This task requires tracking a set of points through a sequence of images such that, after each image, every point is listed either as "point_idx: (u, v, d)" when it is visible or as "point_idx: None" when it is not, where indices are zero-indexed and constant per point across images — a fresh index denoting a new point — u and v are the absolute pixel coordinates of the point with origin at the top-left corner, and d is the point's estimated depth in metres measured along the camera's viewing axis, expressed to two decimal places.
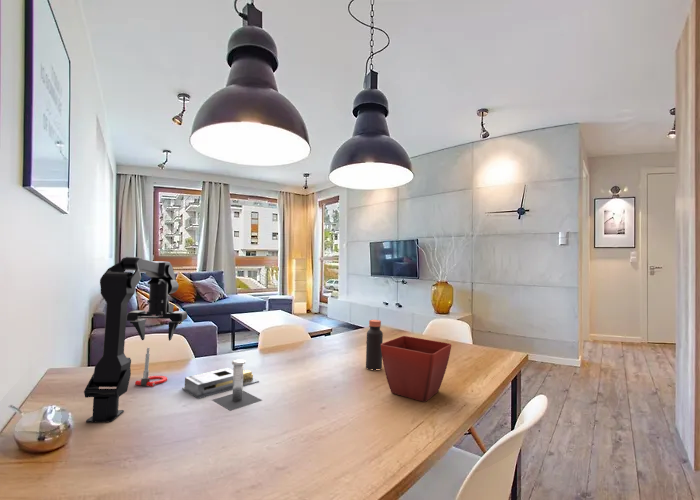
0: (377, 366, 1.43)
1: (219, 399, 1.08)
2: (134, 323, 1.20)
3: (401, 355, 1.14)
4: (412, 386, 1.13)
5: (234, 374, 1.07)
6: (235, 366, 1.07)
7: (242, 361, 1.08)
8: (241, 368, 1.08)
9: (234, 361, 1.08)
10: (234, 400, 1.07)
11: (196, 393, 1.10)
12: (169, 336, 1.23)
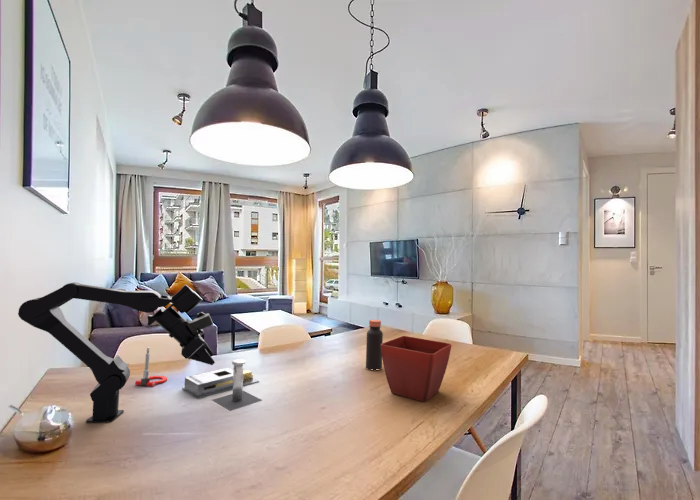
0: (377, 366, 1.43)
1: (219, 399, 1.08)
2: None
3: (401, 355, 1.14)
4: (412, 386, 1.13)
5: (234, 374, 1.07)
6: (235, 366, 1.07)
7: (242, 361, 1.08)
8: (241, 368, 1.08)
9: (234, 361, 1.08)
10: (234, 400, 1.07)
11: (196, 393, 1.10)
12: None
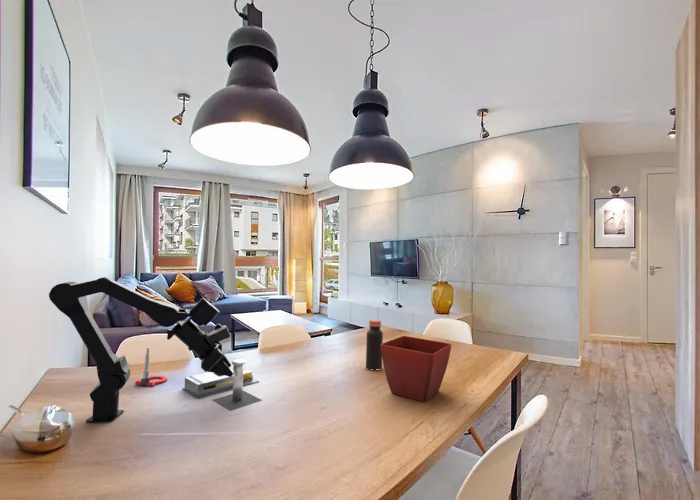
0: (377, 366, 1.43)
1: (219, 399, 1.08)
2: None
3: (401, 355, 1.14)
4: (412, 386, 1.13)
5: (234, 374, 1.07)
6: (235, 366, 1.07)
7: (242, 361, 1.08)
8: (241, 368, 1.08)
9: (234, 361, 1.08)
10: (234, 400, 1.07)
11: (196, 393, 1.10)
12: None
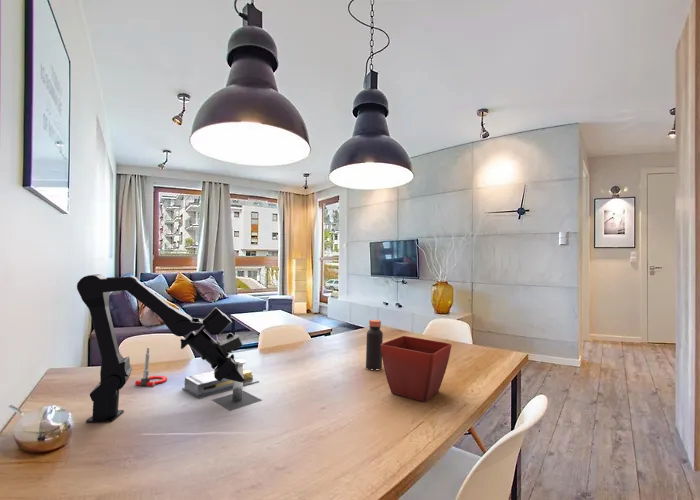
0: (377, 366, 1.43)
1: (219, 399, 1.08)
2: None
3: (401, 355, 1.14)
4: (412, 386, 1.13)
5: None
6: (235, 366, 1.07)
7: (242, 361, 1.08)
8: (241, 368, 1.08)
9: None
10: (234, 400, 1.07)
11: (196, 393, 1.10)
12: None
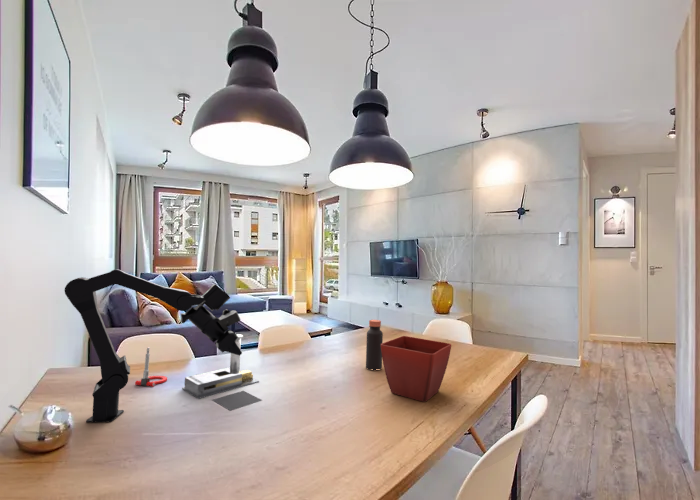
0: (377, 366, 1.43)
1: (219, 399, 1.08)
2: None
3: (401, 355, 1.14)
4: (412, 386, 1.13)
5: None
6: None
7: (240, 335, 1.14)
8: (239, 342, 1.13)
9: None
10: (232, 372, 1.12)
11: (196, 393, 1.10)
12: None
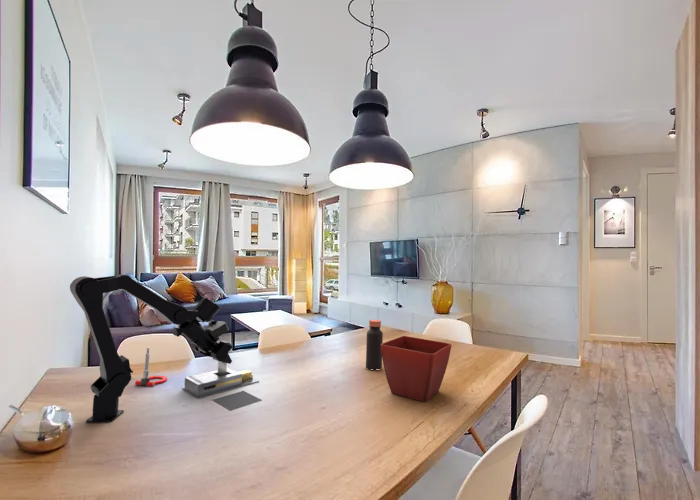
0: (377, 366, 1.43)
1: (219, 399, 1.08)
2: None
3: (401, 355, 1.14)
4: (412, 386, 1.13)
5: (220, 361, 1.19)
6: None
7: None
8: None
9: None
10: None
11: (196, 393, 1.10)
12: (226, 362, 1.18)
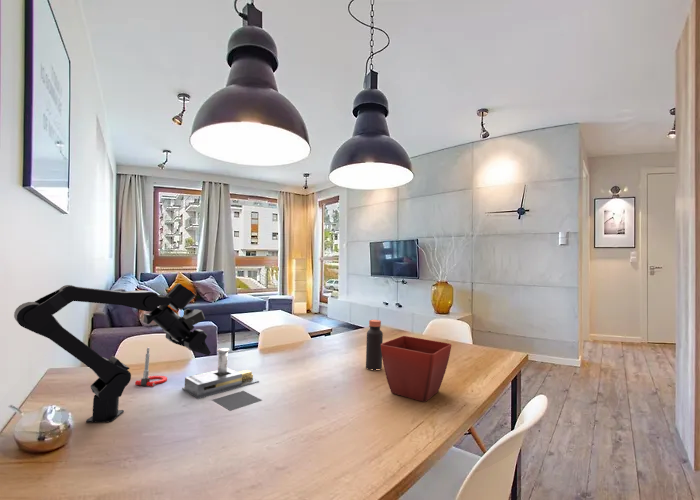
0: (377, 366, 1.43)
1: (219, 399, 1.08)
2: (175, 343, 1.15)
3: (401, 355, 1.14)
4: (412, 386, 1.13)
5: (220, 361, 1.19)
6: (221, 354, 1.19)
7: (226, 349, 1.21)
8: (226, 355, 1.20)
9: (219, 349, 1.20)
10: None
11: (196, 393, 1.10)
12: None
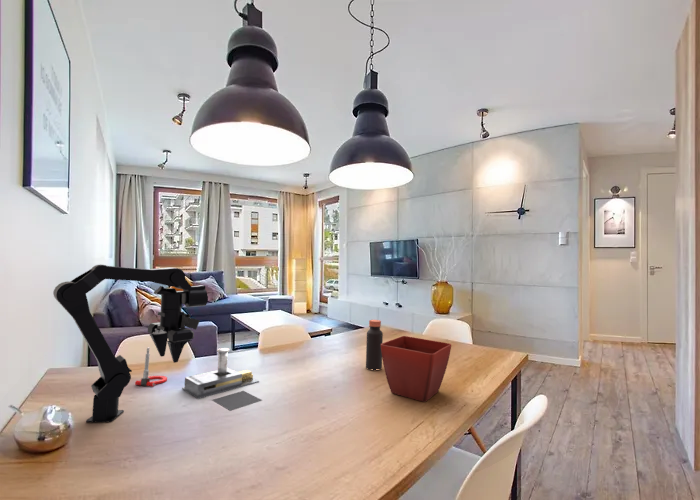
0: (377, 366, 1.43)
1: (219, 399, 1.08)
2: (151, 336, 1.08)
3: (401, 355, 1.14)
4: (412, 386, 1.13)
5: (220, 361, 1.19)
6: (221, 354, 1.19)
7: (226, 349, 1.21)
8: (226, 355, 1.20)
9: (219, 349, 1.20)
10: None
11: (196, 393, 1.10)
12: (172, 357, 1.03)
